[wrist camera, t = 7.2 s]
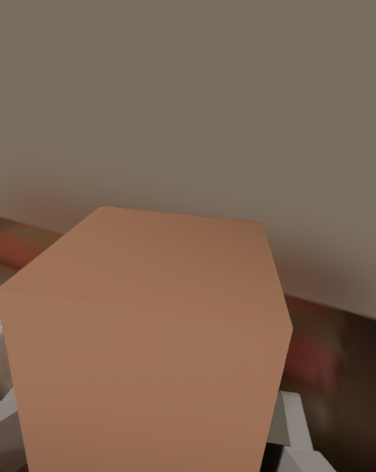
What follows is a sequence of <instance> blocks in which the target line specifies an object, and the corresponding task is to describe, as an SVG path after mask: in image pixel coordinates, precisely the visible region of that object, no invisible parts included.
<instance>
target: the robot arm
mask: <svg viewBox="0 0 376 472" xmlns="http://www.w3.org/2000/svg"><path fill="white" fill-rule="evenodd" d="M26 463H27V458H26V453H25V447H24V442H23V437H22V431H21V426H20V421H19V415H18V410H17V404H16V399H15V394H14V388H13V387H12V388H11V389H10V391H9V392H8V393H7V394H6V396H5V397H4V398H3V400H2V401H0V472H17V471H18V470H19V469H20V468H22V467H23V466H24V465H25V464H26ZM259 472H336V471H335V469H334V468H333V467H332V466H331V465H330V463H329V462H328V461H327V460H326V459H325V458H324V456H323V455H322V454H321V453H320V452H318V451H314V450H313V446H312V442H311V438H310V434H309V430H308V426H307V422H306V418H305V413H304V409H303V405H302V401H301V397H300V395H299V394H298V393H292V392H285V391H278V395H277V399H276V403H275V407H274V412H273V416H272V420H271V424H270V429H269V433H268V437H267V441H266V446H265V450H264V454H263V458H262V463H261V467H260V471H259Z"/></svg>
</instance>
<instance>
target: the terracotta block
mask: <svg viewBox="0 0 376 472" xmlns="http://www.w3.org/2000/svg"><path fill="white" fill-rule="evenodd" d="M0 318H1V324H2V329H3V334H4V340H5V345H6V351H7V356H8V361H9V367H10V372H11V377H12V383H13V388H14V394H15V399H16V404H17V410H18V415H19V421H20V426H21V431H22V437H23V442H24V447H25V453H26V458H27V464H28V469H29V472H259V471H260V467H261V463H262V458H263V454H264V450H265V446H266V441H267V437H268V433H269V429H270V424H271V420H272V416H273V412H274V407H275V403H276V399H277V395H278V390H279V386H280V382H281V377H282V373H283V369H284V365H285V360H286V356H287V352H288V348H289V343H290V339H291V335H292V331H293V327H292V323H291V320H290V316H289V313H288V309H287V305H286V302H285V298H284V295H283V291H282V288H281V284H280V281H279V277H278V274H277V270H276V266H275V263H274V259H273V255H272V252H271V248H270V245H269V241H268V238H267V234H266V231H265V227H264V223H263V222H255V221H246V220H236V219H226V218H216V217H207V216H197V215H187V214H177V213H168V212H158V211H148V210H138V209H129V208H118V207H109V206H100V207H99V208H98V209H96V211H94V212H93V213H91V214H90V215H89V216H88V217H87V218H86V219H84V220H83V221H82V222H80V223H79V224H78V225H76V226H75V227H74V228H73V229H72V230H70V231H69V232H68V233H66V234H65V235H64V236H63V237H61V238H60V239H59V240H58V241H56V242H55V243H54V244H53V245H51V246H50V247H49V248H48V249H46V250H45V251H44V252H43V253H41V254H40V255H39V256H38V257H36V258H35V259H34V260H33V261H31V262H30V263H29V264H28V265H26V266H25V267H24V268H23V269H21V270H20V271H19V272H18V273H16V274H15V275H14V276H13V277H11V278H10V279H9V280H8V281H6V282H5V283H4V284H3V285H1V286H0Z"/></svg>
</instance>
